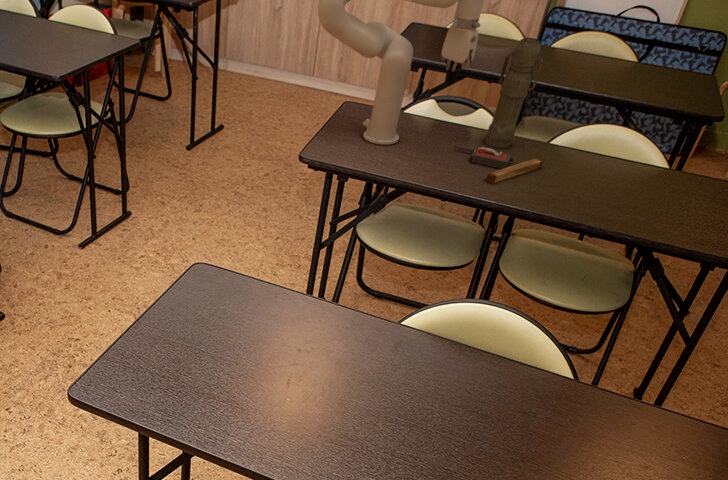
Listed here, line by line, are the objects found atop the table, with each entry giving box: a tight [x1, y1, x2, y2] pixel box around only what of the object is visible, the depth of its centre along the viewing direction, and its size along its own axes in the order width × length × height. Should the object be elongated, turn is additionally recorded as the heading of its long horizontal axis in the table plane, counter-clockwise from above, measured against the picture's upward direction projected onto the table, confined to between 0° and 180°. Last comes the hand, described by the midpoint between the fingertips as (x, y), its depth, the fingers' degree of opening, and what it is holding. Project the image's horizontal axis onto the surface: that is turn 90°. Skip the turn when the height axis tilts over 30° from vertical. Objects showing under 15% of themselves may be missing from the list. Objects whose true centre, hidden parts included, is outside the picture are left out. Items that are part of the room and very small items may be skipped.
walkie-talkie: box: [453, 144, 514, 170], centre depth 233 cm, size 9×4×20 cm
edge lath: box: [485, 157, 544, 184], centre depth 226 cm, size 3×24×3 cm, turn 122°
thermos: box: [484, 37, 544, 149], centre depth 234 cm, size 9×12×35 cm
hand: (449, 82), depth 229 cm, fingers closed
